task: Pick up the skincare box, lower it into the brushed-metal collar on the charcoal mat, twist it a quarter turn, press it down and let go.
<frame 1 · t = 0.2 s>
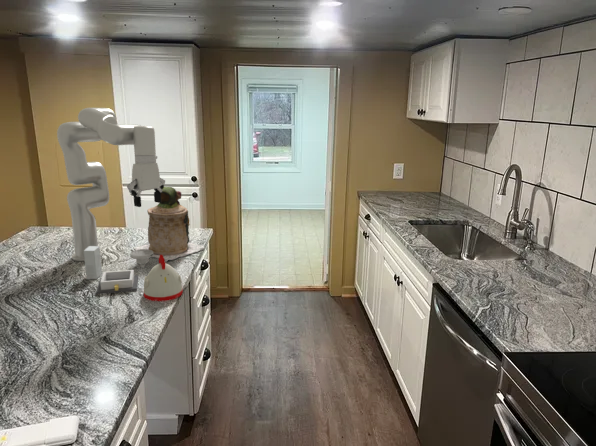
hand: (148, 204, 169), 31 cm above the counter, tool pointing down, fingers open, 9 cm apart
socket: (118, 285, 169), on the counter
skincare box: (94, 276, 177), on the counter
cookie jar: (169, 251, 212), on the counter
showerhead: (142, 266, 190), on the counter
kitchen timer: (163, 294, 163), on the counter
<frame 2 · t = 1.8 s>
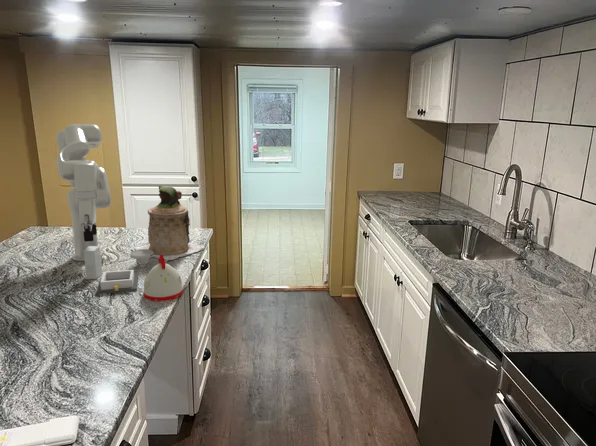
hand: (90, 237, 173), 16 cm above the counter, tool pointing down, fingers open, 9 cm apart
nothing on the counter moved.
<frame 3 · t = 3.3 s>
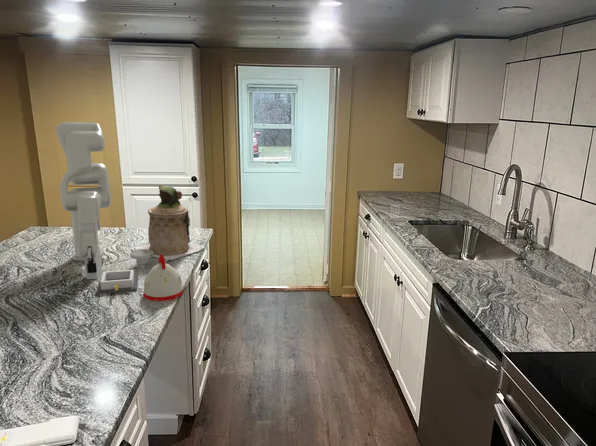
hand: (93, 268, 177), 3 cm above the counter, tool pointing down, fingers closed on skincare box, 6 cm apart
skincare box: (94, 276, 177), on the counter, touching gripper
everything else where it was.
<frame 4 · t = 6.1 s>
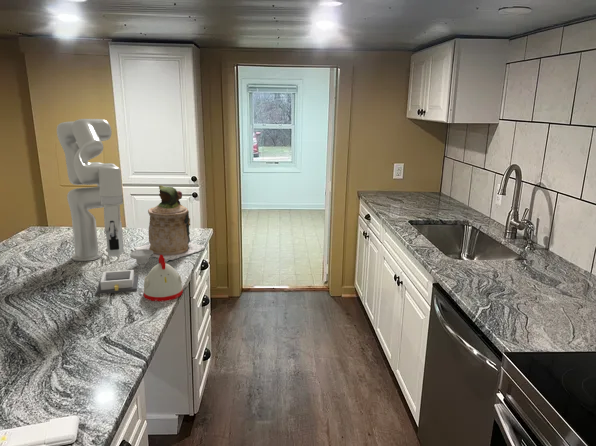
hand: (115, 246, 165), 16 cm above the counter, tool pointing down, fingers closed on skincare box, 6 cm apart
skincare box: (116, 254, 166), point 12 cm above the counter, touching gripper
everything else where it was.
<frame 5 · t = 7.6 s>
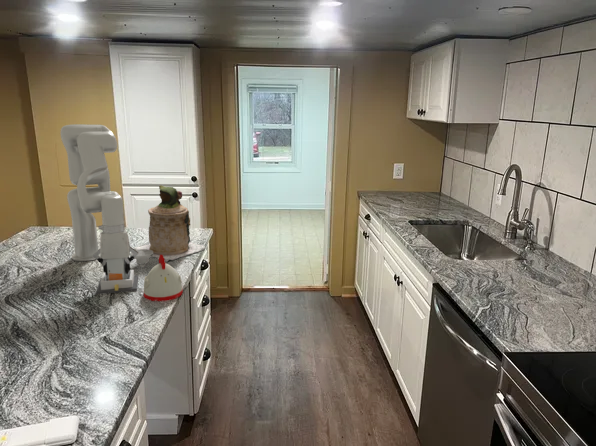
hand: (117, 272, 168), 5 cm above the counter, tool pointing down, fingers closed on skincare box, 6 cm apart
skincare box: (117, 281, 169), point 2 cm above the counter, touching gripper
everything else where it was.
when the fingers open (4 cm above the counter, at t = 8.7 s): skincare box stays where it is, resting on socket.
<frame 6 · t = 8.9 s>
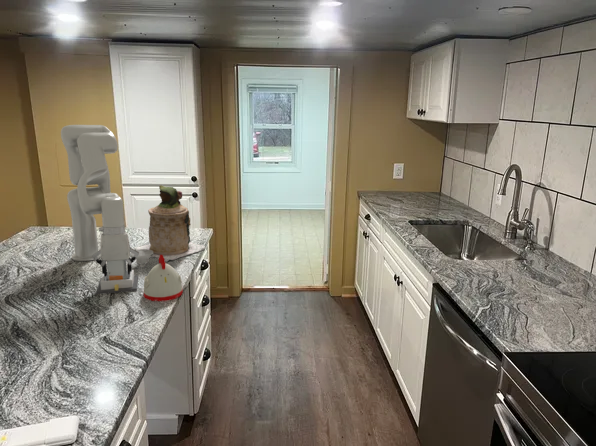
hand: (117, 274, 168), 5 cm above the counter, tool pointing down, fingers open, 7 cm apart
skincare box: (118, 283, 169), point 1 cm above the counter, touching socket
everything else where it was.
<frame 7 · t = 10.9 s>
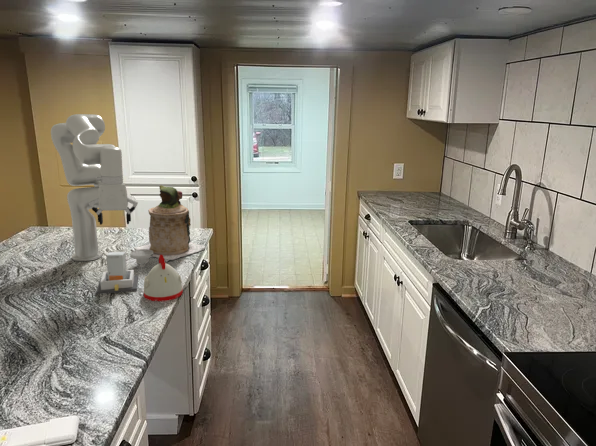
hand: (114, 223, 171), 23 cm above the counter, tool pointing down, fingers open, 9 cm apart
nothing on the counter moved.
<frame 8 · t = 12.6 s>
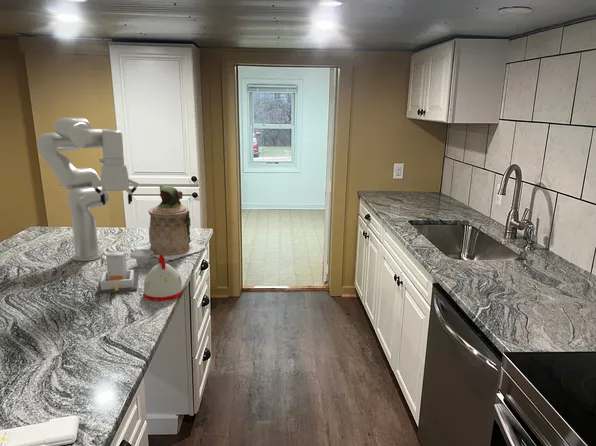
hand: (117, 203, 179), 28 cm above the counter, tool pointing down, fingers open, 9 cm apart
nothing on the counter moved.
at the end: skincare box inside the target area on the socket (0.2 cm from its centre), point 0.8 cm above the socket's base; skincare box tilted 0°; the gripper is holding nothing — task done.
